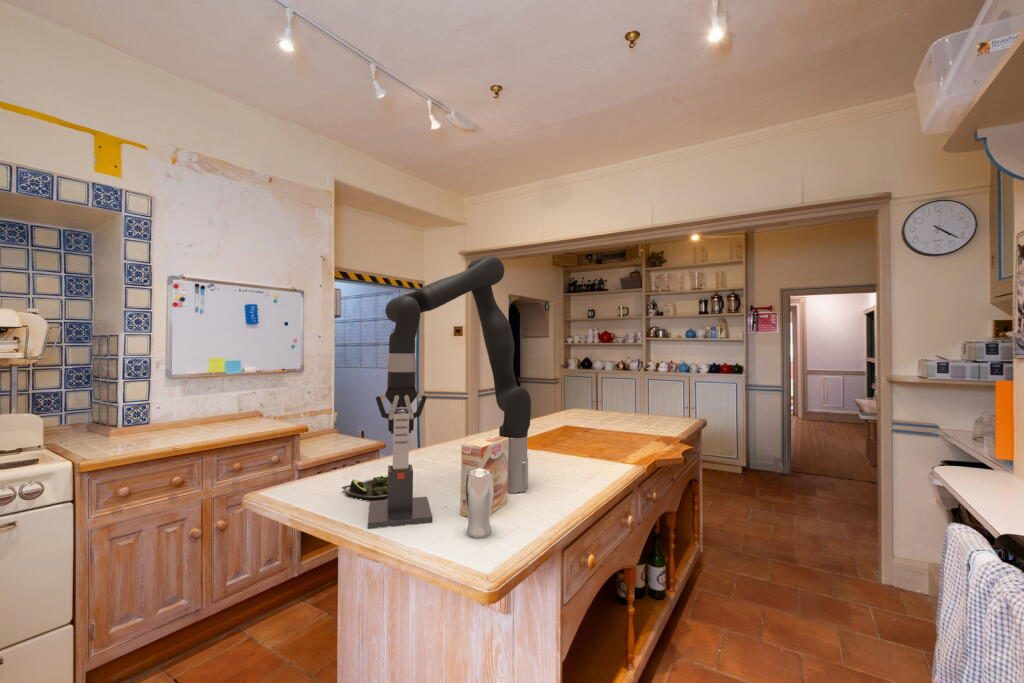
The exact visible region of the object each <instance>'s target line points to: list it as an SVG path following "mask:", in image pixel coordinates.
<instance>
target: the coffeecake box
mask: <svg viewBox="0 0 1024 683" xmlns="http://www.w3.org/2000/svg"><path fill="white" fill-rule="evenodd" d="M508 448H509V438H507V437H501V436H498V435H492V434H489V435H487V436H483V437H479V438H477V439H474V440H471V441H467V442H464V443H461V455H460V456H461V457H460V460H461V462H460V466H461V468H460V504H459V505H460V508H459V510H460V511H459V514H460V516H464V517H467V518H468V510H467V504H466V495H465V486H466V474H467V471H469V470H472V469H488V470H491V471H492V472H493V483H494V492H493V501H492V507H491V512H490V515H492V514H493V513H495V512H496V511H497V509H498V510H499V509H501V508H502V507H501V506H503V505H504V506H506V505H507V504H508V499H509V498H508V494H509V493H508ZM506 503H507V504H506ZM505 504H506V505H505ZM504 506H503V507H504ZM500 507H501V508H500ZM492 512H493V513H492Z"/></svg>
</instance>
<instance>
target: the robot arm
mask: <svg viewBox="0 0 1024 683" xmlns="http://www.w3.org/2000/svg"><path fill="white" fill-rule="evenodd" d="M504 276H505V266H504V263H503V261H502V260H501V259H500V258H499V257H497V256H495V255H485V256H483V257H480V258H477V259H474V260H472V261H471V262H469V264H468V265H467V268H466V270H464V271H461V272H458V273H456V274H453V275H450V276H447V277H444V278H441V279H438V280H436V281H433V282H431V283H428V284H427V285H425V286H422V287H420V288H419V289H416V290H414V291H411V292H408V293H404V294H402V295H399V296H396V297H395V298H392V299H391V300H389V301H388V303H387V304H386V306H385V315H386V317H387V319H388V320H389V321H391V322H392V323H395V327H394V331H393V332H391V333H390V336H389V338H388V359H387V382H386V383H387V388H386V391H385V393H384V394H381V395H376V397H375V400H376V404H377V407H378V410H379V412H380V415H381V418H383V419H387V420H388V422H387V423H388V424H387V425H388V428H387V430H388V432H390V434H391V435H392V434H393V433H394V419H393V416H394V413H395V410H396V408H407V410H408V413H409V434H411V433H412V432H413V431H414V427H415V426H414V425H415V419H416V418H420V417H421V416H422V412H423V409H424V407H425V404H426V401H427V396H426V395H425V394H420V393H418V391H417V389H416V387H417V386H416V385H417V384H416V383H417V378H416V377H417V372H416V371H417V358H416V337H417V333H418V329H419V325H420V320H421V314H422V313H426V312H431V311H433V310H435V309H438V308H440V307H442V306H444V305H447V304H448V303H449V302H451V301H454V300H456V299H457V298H459V297H461V296H463V295H465V294H467V293H469V292H471V293H472V296H473V300H474V302H475V306H476V309H477V313H478V318H479V322H480V326H481V331H482V336H483V341H484V346H485V349H486V353H487V356H488V361H489V364H490V369H491V372H492V376H493V384H494V392H495V400H496V403H497V406H498V409H500V410H501V411H503V423H502V424H501V425H500V427H499V430H498V431H499V432H498V433H499V434H498V435H499V436H501V437H507V438H509V448H508V494H519V493H518V492H520V493H526V492H527V489H528V488H529V457H528V437H529V434H528V432H529V429H530V426H531V418H532V417H531V414H532V413H531V412H532V400H531V395H530V393H529V391H528V390H527V389H526V388H524V387H523V386H518V384H517V383H518V382H517V380H516V376H515V372H514V355H515V340H514V336H513V331H512V328H511V324H510V322H509V320H508V318H507V316H506V315H505V314H504V312H503V311H502V310H501V309H500V307H499V305H498V304H497V302H496V299H495V295H494V291H493V286H494V285H497V284H498V283H500V281H502V279H503V278H504ZM386 399H387V400H388V402H389V403H390V410H389V412H386V410H385V406H384V404H385V400H386ZM415 399H417V402H418V405H417V407H416V411H415V412H414V411H413V409H412V408H413V407H412V404H413V403H414V401H415ZM527 487H528V488H527Z"/></svg>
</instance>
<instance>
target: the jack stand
mask: <svg viewBox="0 0 1024 683" xmlns="http://www.w3.org/2000/svg"><path fill="white" fill-rule="evenodd" d="M392 467H393V464H392V465H387V475H388V499H385V500H377V501H369V506H368V507H369V508H368V518H367V529H368V528H370V529H378V528H377V527H381V528H388V527H387V526H391V527H398V525H402V526H409V525H408V524H412V525H419V523H422V524H432V523H433V514H432V510H431V506H430V504H429V499H428V497H427V496H418V497H416V496H414V468H413V465H412V464H411V463H410V464H409V463H408V468H409V470H401V471H393V469H392ZM406 524H407V525H406ZM375 527H376V528H375Z"/></svg>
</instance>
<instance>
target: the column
mask: <svg viewBox="0 0 1024 683" xmlns="http://www.w3.org/2000/svg"><path fill="white" fill-rule="evenodd" d="M393 419H394V433H393V435H392V465H393V467H392V469H393V471H401V470H409V468H408V465H409V456H410V455H409V447H410V445H409V444H410V442H409V441H410V433H409V413H408V410H407V407H399V408H396V410H395V413H394V416H393Z"/></svg>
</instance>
